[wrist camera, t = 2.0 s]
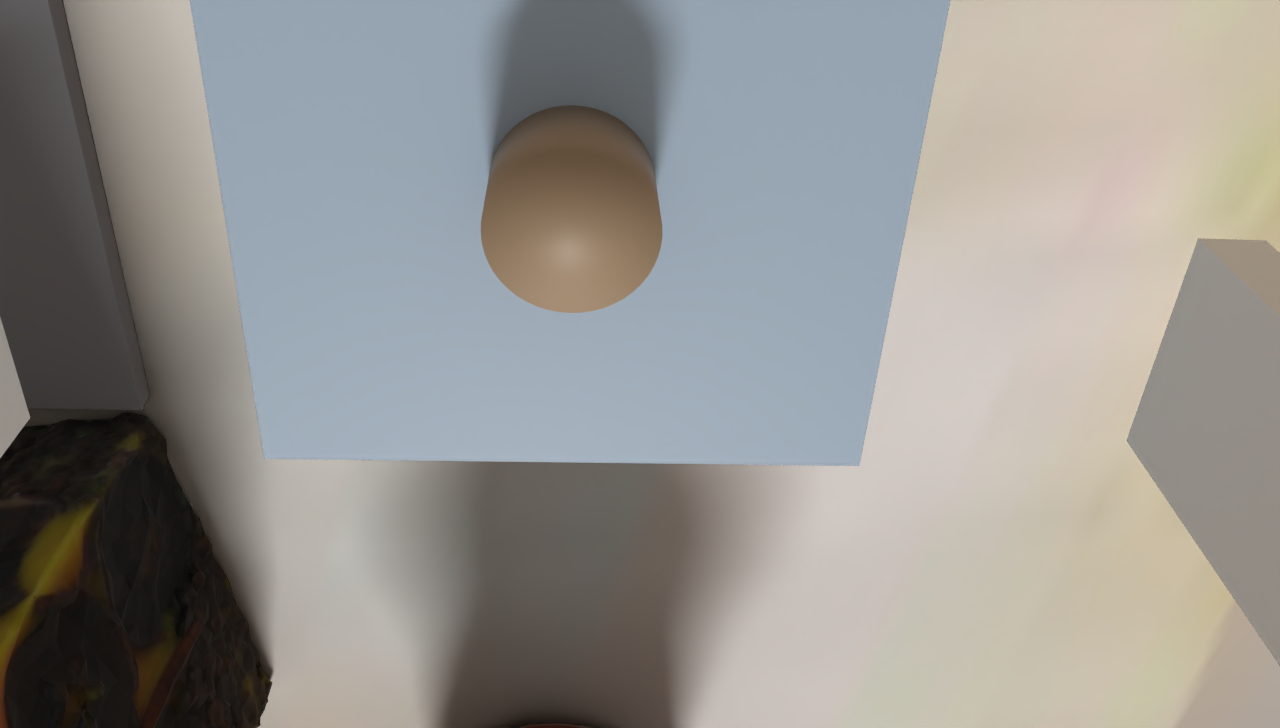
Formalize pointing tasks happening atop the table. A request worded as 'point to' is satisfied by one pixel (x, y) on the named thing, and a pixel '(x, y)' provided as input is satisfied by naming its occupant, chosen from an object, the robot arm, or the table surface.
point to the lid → (567, 221)
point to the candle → (114, 590)
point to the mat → (58, 228)
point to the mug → (553, 726)
